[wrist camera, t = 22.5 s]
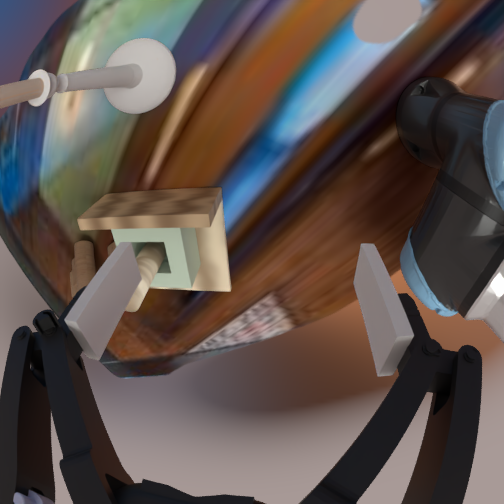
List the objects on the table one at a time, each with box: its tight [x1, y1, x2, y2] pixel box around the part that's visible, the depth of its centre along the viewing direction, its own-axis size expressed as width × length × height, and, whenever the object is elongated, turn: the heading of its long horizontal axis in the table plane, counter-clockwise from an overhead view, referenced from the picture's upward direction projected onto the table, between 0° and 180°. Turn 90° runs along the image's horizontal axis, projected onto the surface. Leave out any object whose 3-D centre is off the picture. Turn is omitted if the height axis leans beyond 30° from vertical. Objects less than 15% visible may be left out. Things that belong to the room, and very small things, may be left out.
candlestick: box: [0, 38, 176, 114], centre depth 24 cm, size 13×13×30 cm
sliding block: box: [111, 228, 201, 289], centre depth 48 cm, size 12×12×7 cm
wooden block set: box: [70, 241, 116, 297], centre depth 53 cm, size 18×9×10 cm
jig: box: [77, 187, 231, 291], centre depth 49 cm, size 22×21×10 cm
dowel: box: [125, 242, 167, 312], centre depth 43 cm, size 4×4×16 cm
